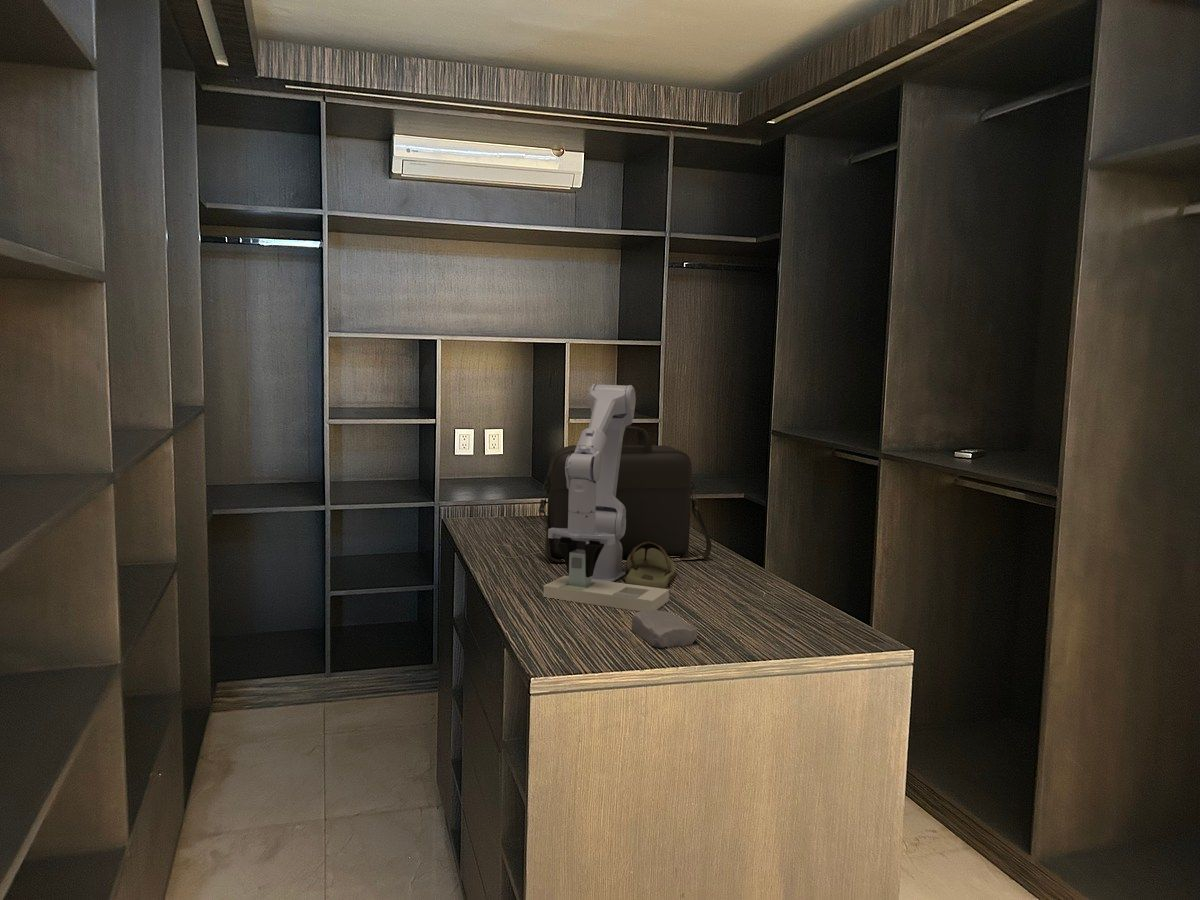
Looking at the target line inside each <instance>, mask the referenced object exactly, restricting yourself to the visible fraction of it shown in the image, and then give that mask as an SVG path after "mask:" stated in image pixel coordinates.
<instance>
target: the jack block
mask: <svg viewBox="0 0 1200 900" xmlns="http://www.w3.org/2000/svg"><path fill="white" fill-rule="evenodd" d="M544 597H547V598H546V599H550V598H554V599H553V600H557V599H559V600H558V601H564V600H566V601H567V602H571V601H572V603H578V604H587V605H593V606H599V607H601V606H602V607H607V608H614V609H621V610H627V611H634V612H640V611H645V610H660V608H662V607H664V605H666V604H667V603H668V602H670V601H669V600H670V589H669V588H667V589H662V588H655V587H647V586H640V585H632V584H625V582H623V583H622V582H615V581H614V582H609V581H602V580H594V579H592V581H591V586H590V587H588V588H585V587H578V586H571V585H569V575H563V576H561V577H559V578H557V579H555V580H553V581H551V582H549V583H546V584H544V585H543V598H544Z"/></svg>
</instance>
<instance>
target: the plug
mask: <svg viewBox="0 0 1200 900" xmlns="http://www.w3.org/2000/svg"><path fill="white" fill-rule="evenodd" d="M568 576H569V585H571V586H578V587H585V588H588V587H590V586H591V581H592V576H591V577H586V554H585V550H580V549H576V550H574V551H571V552H569V575H568Z"/></svg>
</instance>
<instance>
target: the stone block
mask: <svg viewBox="0 0 1200 900" xmlns="http://www.w3.org/2000/svg"><path fill="white" fill-rule="evenodd" d="M631 631H632V633H633V634H635V635H637V636H638V638H639V637H641V638H640V639H642V640H643V639H644V640H645V641H644V640H643V641H644V642H646V643H649V644H648V645H649V646H651V647H653V646H654V648H657V649H659V648H662V649H665V647H667V648H666V649H669V647H670V648H674V646H675V647H687V646H686V645H689V646H692V645H693V643H695V640H696V639H697V637H698V627H696V626H695V625H693V624H689V623H687V622H685V621H684V620H683V619H682V618H681V617H679V616H677V615H675V614H674V613H672V612H669V611H665V610H664V611H663V610H660V609H657V610H645V611H636V613H633V615H632V618H631Z"/></svg>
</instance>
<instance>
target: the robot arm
mask: <svg viewBox="0 0 1200 900" xmlns="http://www.w3.org/2000/svg"><path fill="white" fill-rule="evenodd" d="M587 398H588V406H589V408H590V412H591V416H590V420H589V424H588V427H587V428H585V429H583V430H582V431H581V433H580V436H579V438H578V441H577V443H576V445H577V446H576V449H575V451H574V453H573V454H571V456H570V455H569V456H568V457H567V460H566V465H565V475H566V480H567V489H569V501H568V529H566V528H550V529H548V538H559V539H560V542H558V547H559V548H560V550H561V552H562V555H563V557H564V560H565V563H564V564H565V567H566V572H567V576H569V552H571V551H574V550H576V548H577V543H578V541H585V542H586V545H584V548H585V554H586V577H591V576H592V579H594V580H602V581H609V582H615V581H617V580H619V579H620V578H622V577H624V576H625V574H626V573H627V572H623V563H622V552H623V549H622V544H621V542H620V541H619V539H621V538H622V537H623V536H624V534H625V530H626V509H625V506H624V505H623V504H622V503H621V502H620V501H619V500H618V499H617V498H616V490H617V482H618V474H619V466H620V458H621V450H622V445H623V442H624V441H623V440H624V439H623V438H624V435H625V431H626V428H625V427H629V426H628V425H632V424H633V420H634V418H635V409H636V401H637V399H636V390H635V388H634V386H633V385H632V384H629V385H621V384H619V385H618V384H597V383H593V384H592V385H591V386H590V387H589V391H588V397H587ZM603 510H607V511H603ZM616 511H617V512H616ZM626 575H627V574H626Z"/></svg>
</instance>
